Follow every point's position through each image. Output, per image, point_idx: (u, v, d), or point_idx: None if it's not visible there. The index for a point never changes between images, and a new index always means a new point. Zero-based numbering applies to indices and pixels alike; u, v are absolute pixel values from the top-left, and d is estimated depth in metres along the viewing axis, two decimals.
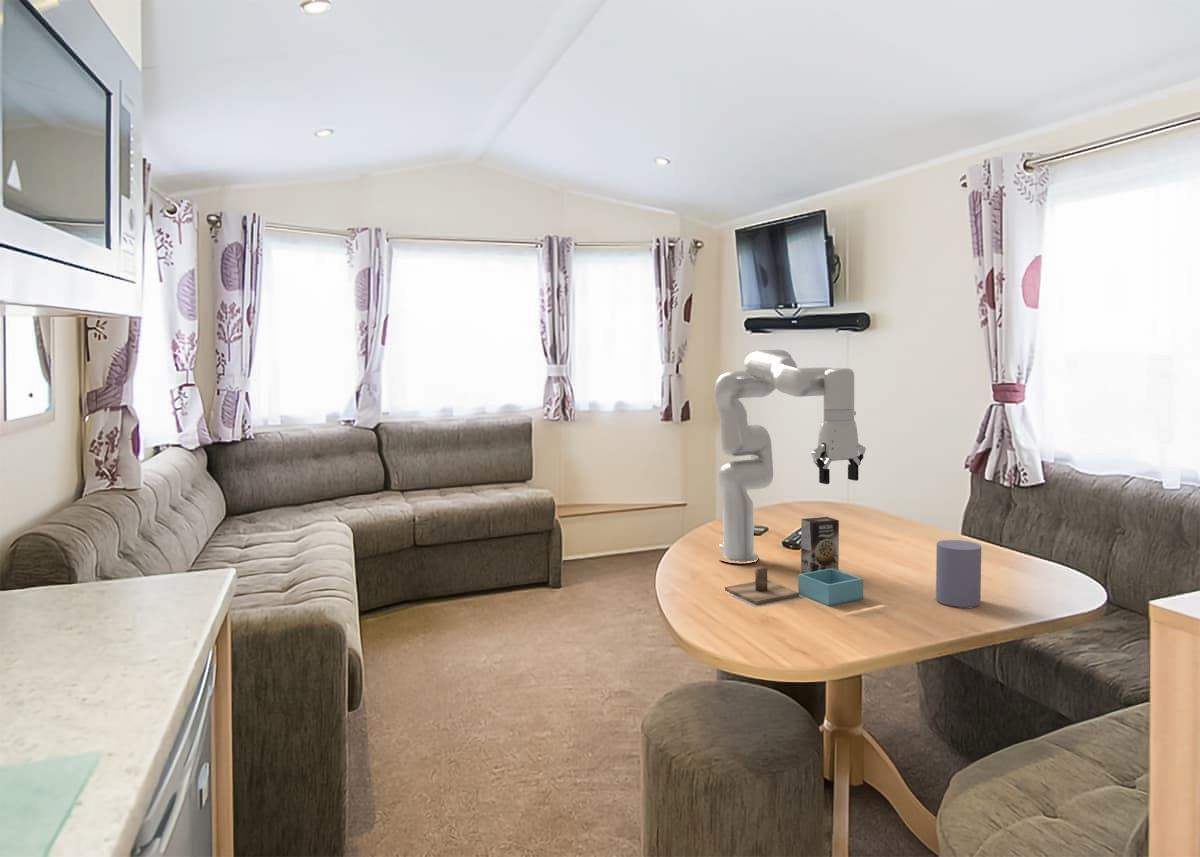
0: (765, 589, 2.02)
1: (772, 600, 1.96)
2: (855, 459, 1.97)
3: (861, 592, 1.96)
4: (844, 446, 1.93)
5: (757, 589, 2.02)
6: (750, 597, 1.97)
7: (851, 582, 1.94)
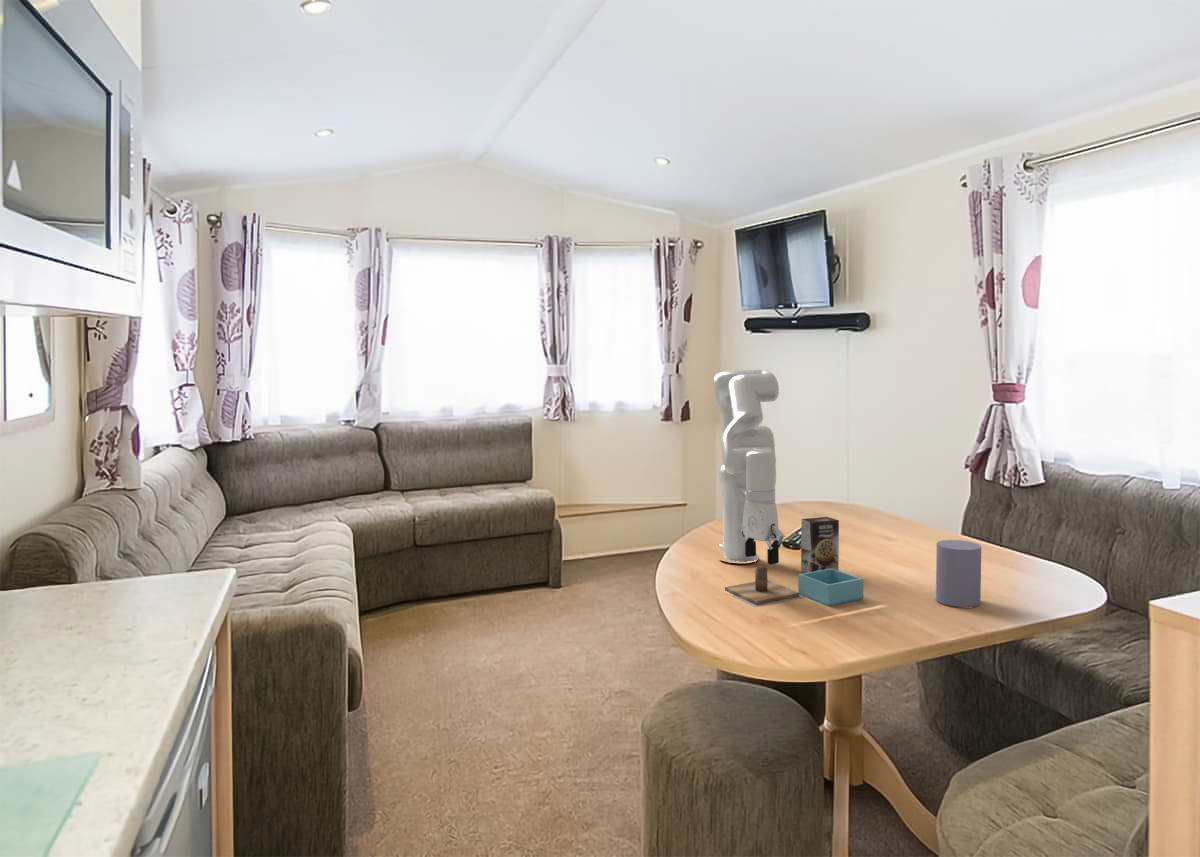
0: (765, 589, 2.02)
1: (772, 600, 1.96)
2: None
3: (861, 592, 1.96)
4: None
5: (757, 589, 2.02)
6: (750, 597, 1.97)
7: (851, 582, 1.94)
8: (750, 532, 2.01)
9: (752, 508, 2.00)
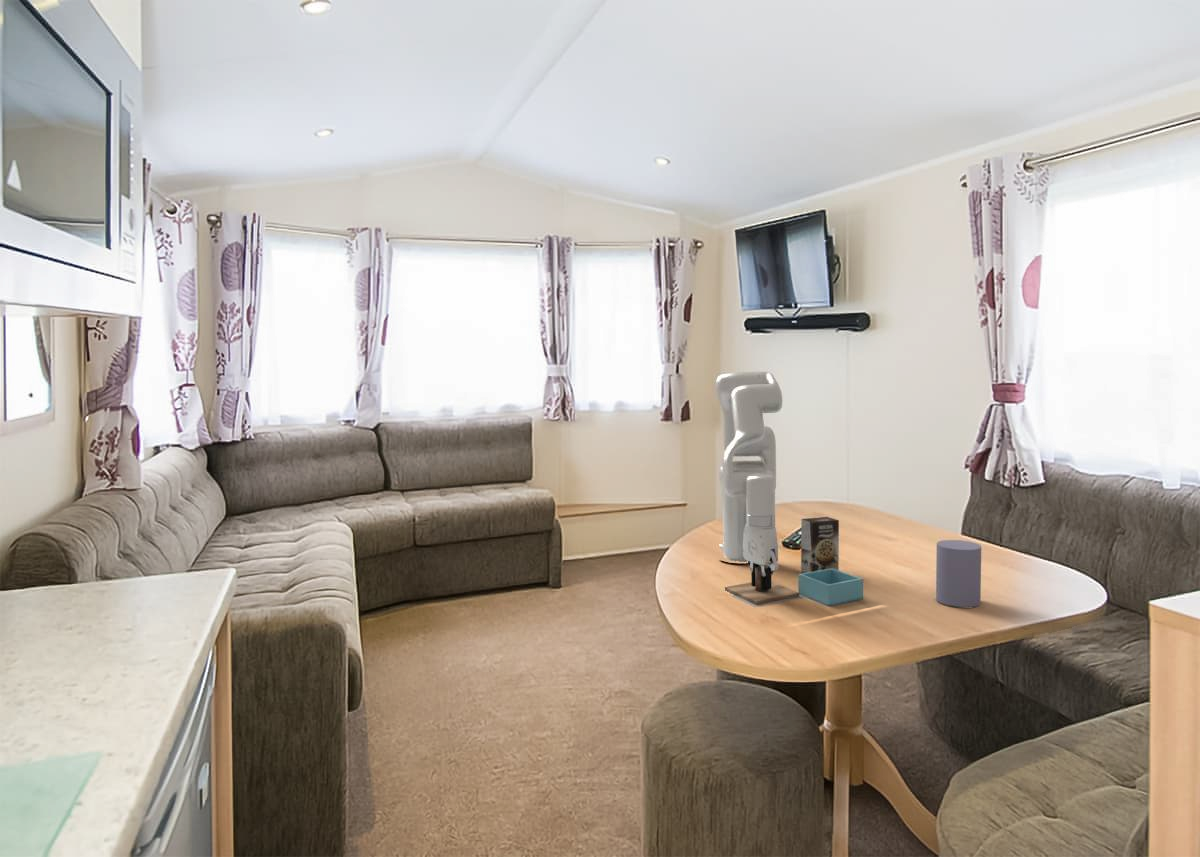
0: None
1: (772, 600, 1.96)
2: None
3: (861, 592, 1.96)
4: None
5: (757, 589, 2.02)
6: (750, 597, 1.97)
7: (851, 582, 1.94)
8: (750, 556, 2.02)
9: (752, 533, 2.01)
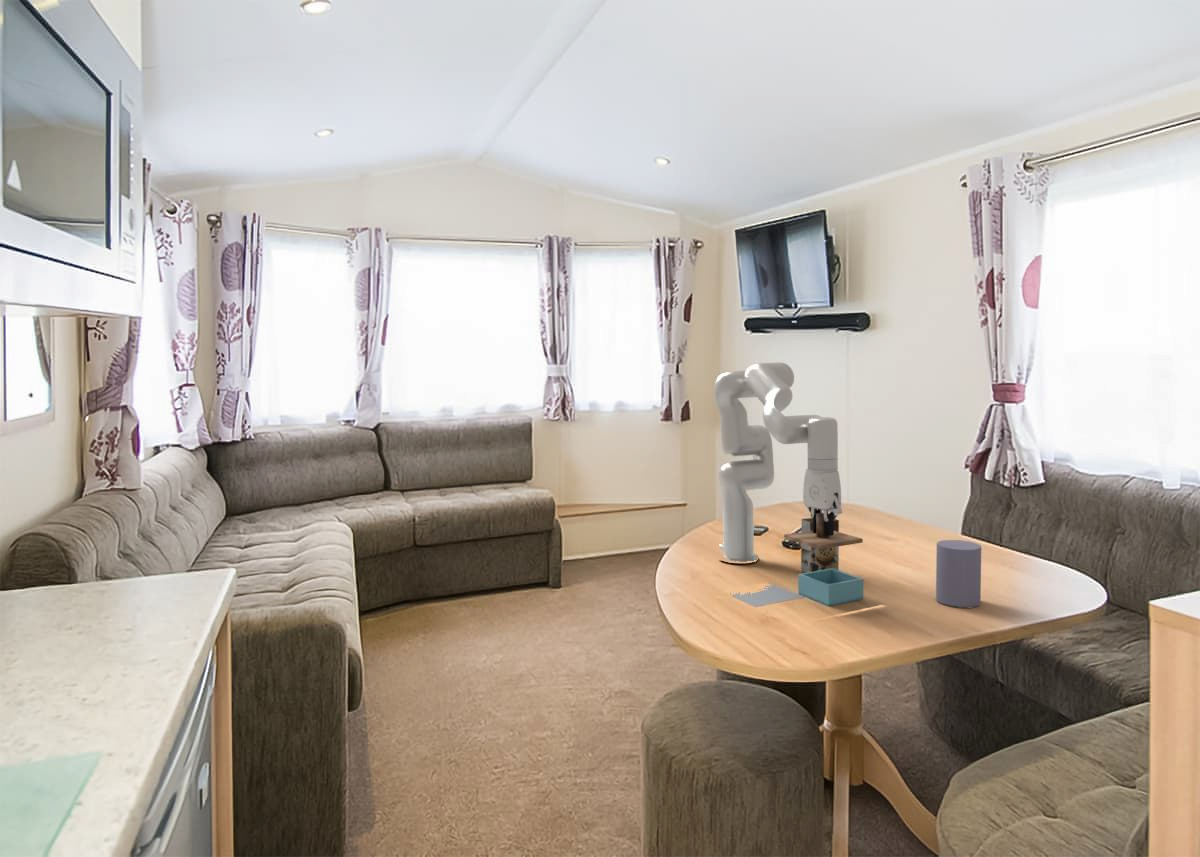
0: None
1: (835, 545, 1.91)
2: None
3: (861, 592, 1.96)
4: None
5: (818, 535, 1.97)
6: (812, 542, 1.92)
7: (851, 582, 1.94)
8: (811, 501, 1.97)
9: (814, 477, 1.96)
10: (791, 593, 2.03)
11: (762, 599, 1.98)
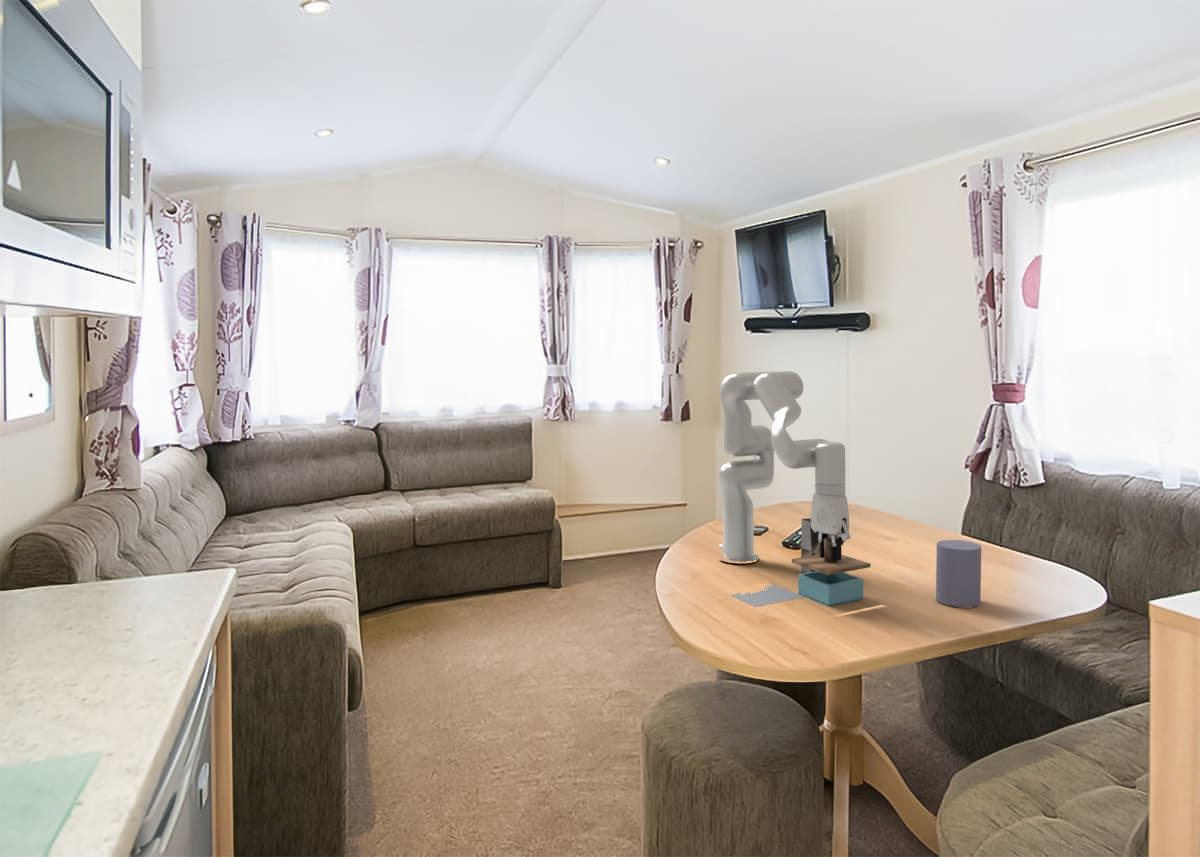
0: None
1: (844, 570, 1.91)
2: None
3: (861, 592, 1.96)
4: None
5: (826, 560, 1.97)
6: (821, 567, 1.92)
7: (851, 582, 1.94)
8: (819, 526, 1.97)
9: (822, 502, 1.96)
10: (791, 593, 2.03)
11: (762, 599, 1.98)
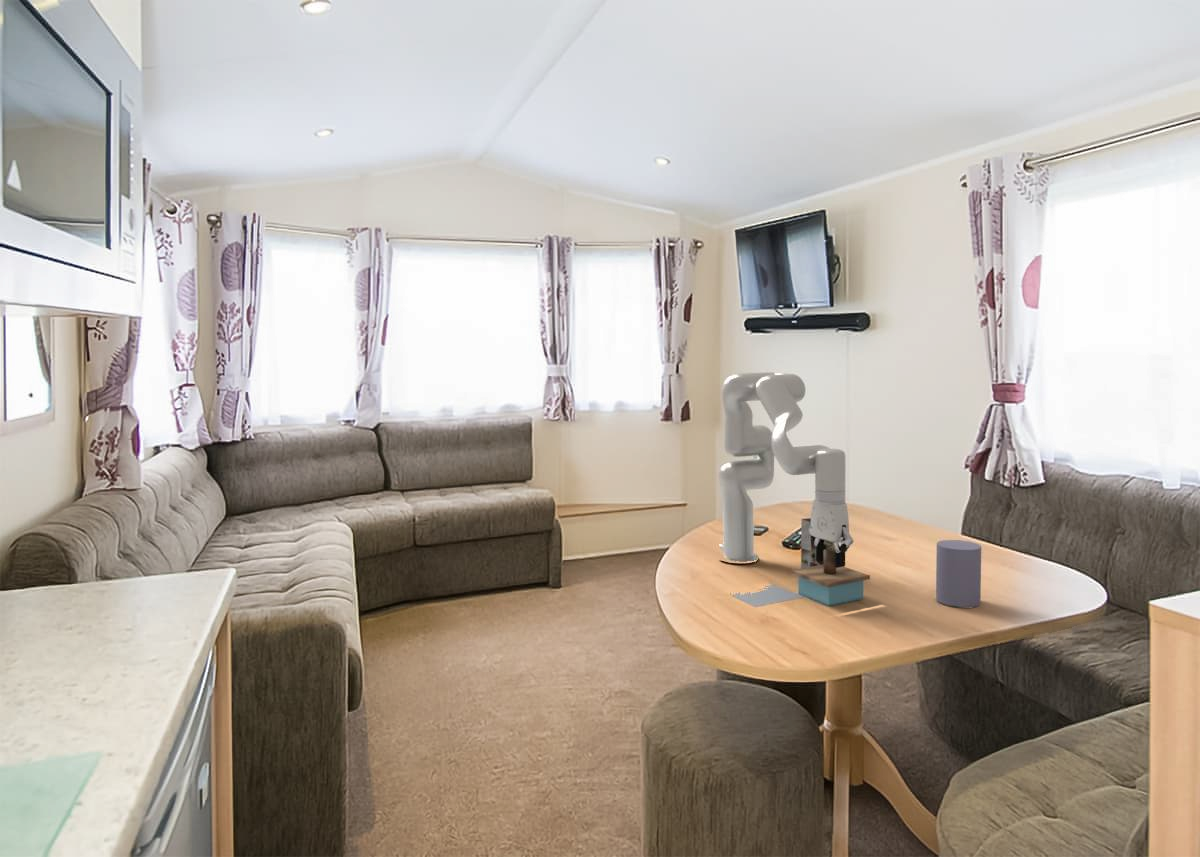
0: (834, 572, 1.97)
1: (843, 582, 1.92)
2: None
3: (861, 592, 1.96)
4: None
5: (826, 572, 1.98)
6: (820, 579, 1.93)
7: None
8: (819, 532, 1.97)
9: (821, 509, 1.96)
10: (791, 593, 2.03)
11: (762, 599, 1.98)
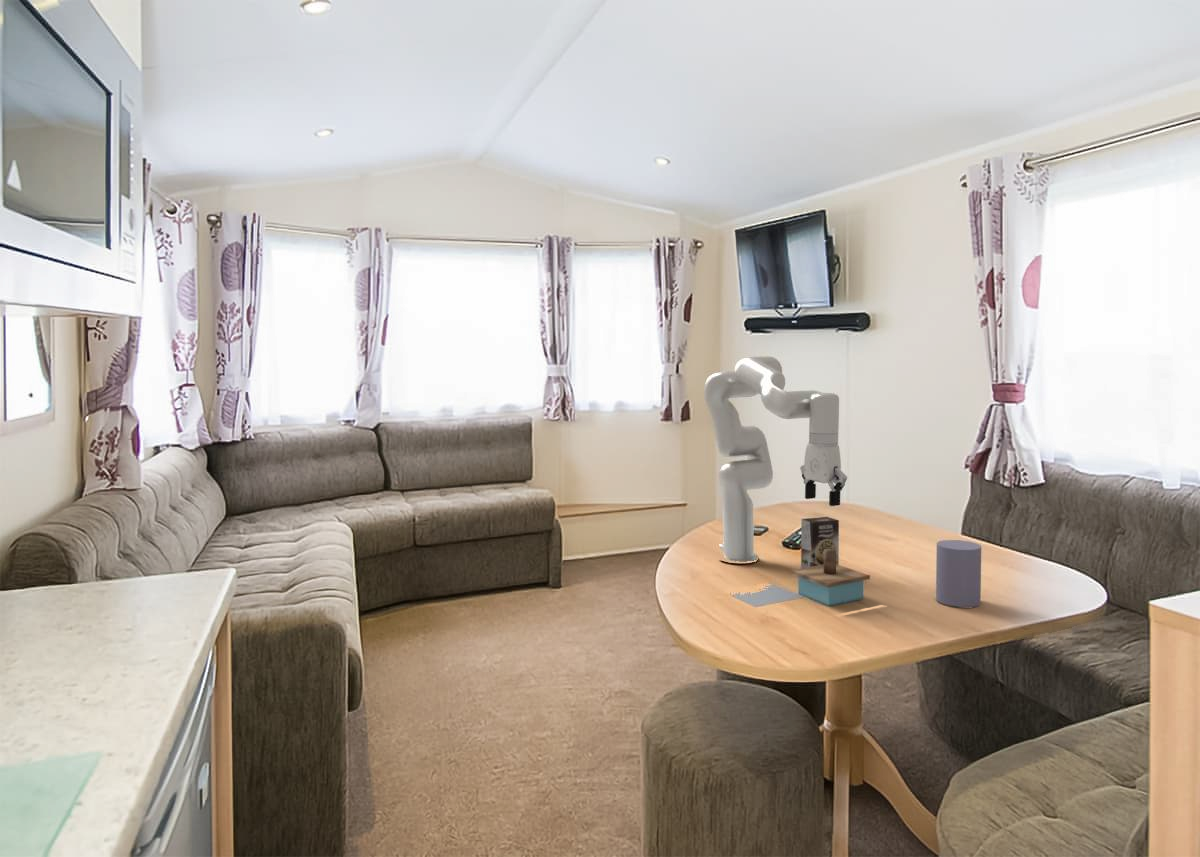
0: (834, 572, 1.97)
1: (843, 582, 1.92)
2: None
3: (861, 592, 1.96)
4: None
5: (826, 572, 1.98)
6: (820, 579, 1.93)
7: None
8: (812, 474, 2.03)
9: (815, 451, 2.01)
10: (791, 593, 2.03)
11: (762, 599, 1.98)
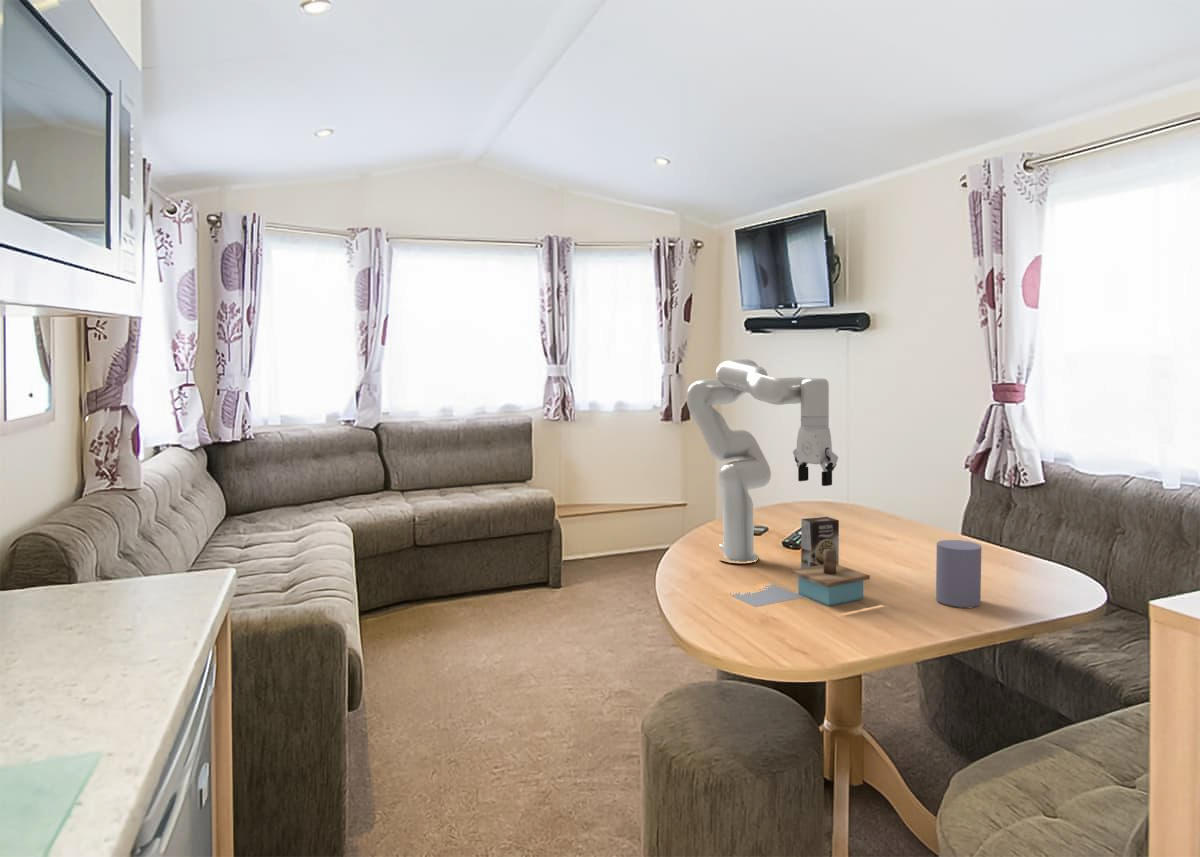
0: (834, 572, 1.97)
1: (843, 582, 1.92)
2: None
3: (861, 592, 1.96)
4: None
5: (826, 572, 1.98)
6: (820, 579, 1.93)
7: None
8: (804, 456, 2.11)
9: (806, 434, 2.10)
10: (791, 593, 2.03)
11: (762, 599, 1.98)
